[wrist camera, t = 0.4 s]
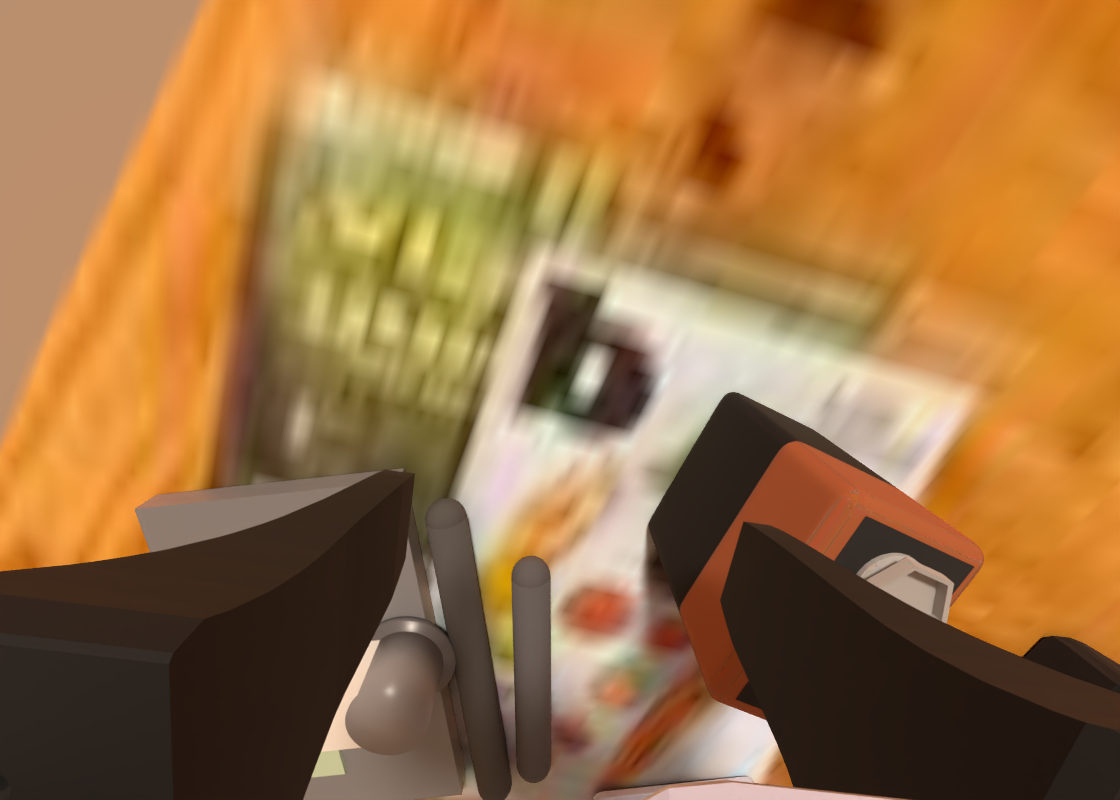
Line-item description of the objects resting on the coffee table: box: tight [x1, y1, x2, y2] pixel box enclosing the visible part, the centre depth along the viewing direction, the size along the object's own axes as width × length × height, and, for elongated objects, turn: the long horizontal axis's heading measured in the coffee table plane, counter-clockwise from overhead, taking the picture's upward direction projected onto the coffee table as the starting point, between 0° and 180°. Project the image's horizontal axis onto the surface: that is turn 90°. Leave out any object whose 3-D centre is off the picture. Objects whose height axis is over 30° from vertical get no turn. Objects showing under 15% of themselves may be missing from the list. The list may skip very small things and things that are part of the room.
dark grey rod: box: [425, 498, 512, 800], centre depth 23 cm, size 16×2×2 cm, turn 6°
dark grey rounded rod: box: [512, 556, 551, 783], centre depth 24 cm, size 12×2×2 cm, turn 0°
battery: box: [649, 392, 984, 720], centre depth 17 cm, size 4×7×10 cm, turn 154°
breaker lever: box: [321, 631, 443, 755], centre depth 21 cm, size 3×10×4 cm, turn 96°
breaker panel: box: [135, 468, 465, 800], centre depth 23 cm, size 16×11×2 cm
